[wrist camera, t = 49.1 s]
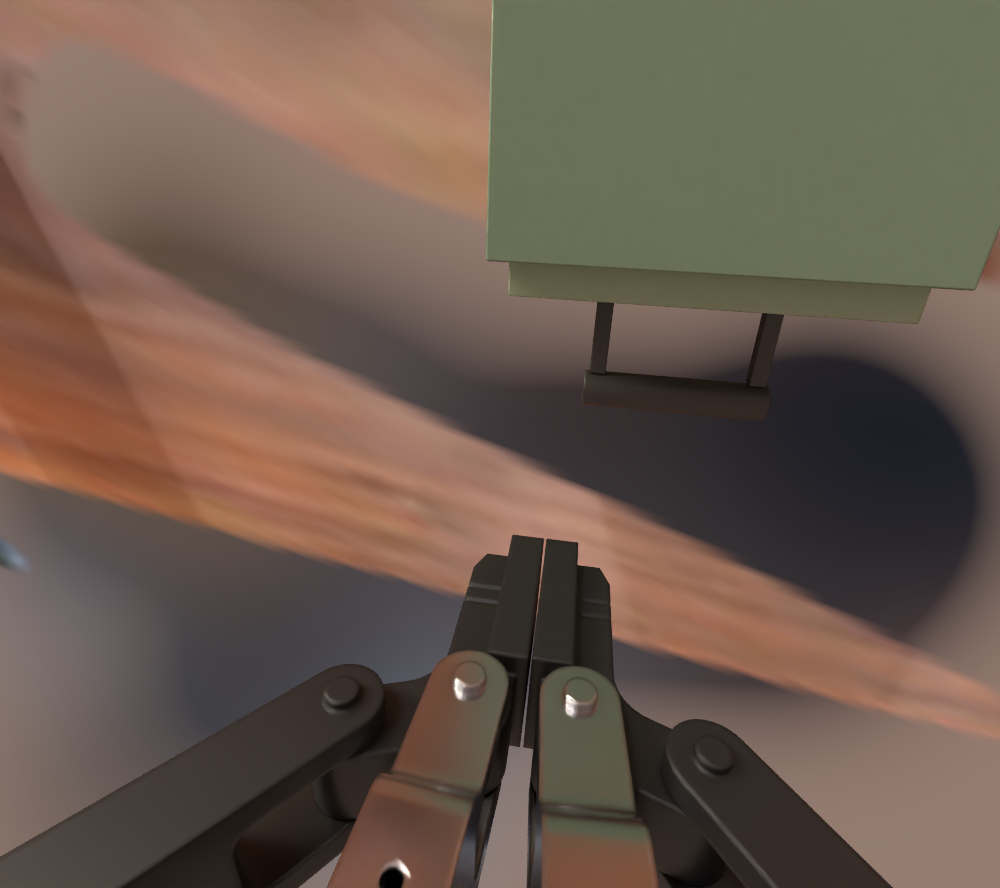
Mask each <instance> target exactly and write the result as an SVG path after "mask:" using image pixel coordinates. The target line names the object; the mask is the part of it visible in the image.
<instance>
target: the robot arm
mask: <svg viewBox="0 0 1000 888" xmlns="http://www.w3.org/2000/svg"><path fill="white" fill-rule="evenodd" d="M543 544H544V539H543V538H535V537H527V536H519V535H513V536H512V540H511V544H510V549H509V554H508V556H501V555H493V554H487V555H486V556H485V557H484V558H483V559H482V560H481V561H480V562H479V563H478V564H477V565H476V566H475V567H474V569H473V572H472V576H471V579H470V582H469V587H468V589H467V592H466V596H465V601H464V602H463V606H462V609H461V613H460V616H459V619H458V623H457V626H456V629H455V633H454V636H453V639H452V643H451V647H450V649H449V652H448V655H447V656H446V657H445V658H443V659H442V660H441V661H440V662H438V664H437V665H436V666H435V668H434V669H433V671H432V672H431V673H430V674H428V675H426V676H424V677H421V678H418V679H415V680H410V681H405V682H397V683H389V684H383V683H382V681H381V679H380V677H379V676H378V674H376V673H375V672H374V671H373V670H371V669H370V668H367V667H365V666H362V665H357V664H343V665H339V666H334V667H331V668H329V669H327V670H325V671H323V672H321V673H319V674H317V675H316V676H314V677H312V678H310V679H309V680H307V681H305V682H304V683H302V684H300V685H298V686H296V687H295V688H293V689H291V690H290V691H288V692H286V693H284V694H283V695H281V696H279V697H277V698H276V699H274V700H272V701H270V702H269V703H267V704H265V705H263V706H262V707H260V708H258V709H257V710H255V711H253V712H251V713H250V714H248V715H246V716H245V717H243V718H241V719H239V720H237V721H236V722H234V723H232V724H230V725H229V726H227V727H225V728H224V729H222V730H220V731H218V732H216V733H215V734H213V735H211V736H210V737H208V738H206V739H204V740H203V741H201V742H199V743H197V744H196V745H194V746H192V747H190V748H189V749H187V750H185V751H183V752H182V753H180V754H178V755H176V756H175V757H173V758H171V759H170V760H168V761H166V762H164V763H163V764H161V765H159V766H157V767H156V768H154V769H152V770H150V771H149V772H147V773H145V774H143V775H142V776H140V777H138V778H137V779H135V780H133V781H131V782H130V783H128V784H126V785H124V786H123V787H121V788H119V789H117V790H116V791H114V792H112V793H111V794H109V795H107V796H105V797H103V798H102V799H100V800H98V801H97V802H95V803H93V804H92V805H90V806H88V807H86V808H84V809H83V810H81V811H79V812H77V813H76V814H74V815H72V816H71V817H69V818H67V819H65V820H63V821H62V822H60V823H58V824H57V825H55V826H53V827H51V828H50V829H48V830H46V831H44V832H43V833H41V834H39V835H37V836H36V837H34V838H32V839H30V840H29V841H27V842H25V843H24V844H22V845H20V846H18V847H16V848H15V849H13V850H11V851H10V852H8V853H6V854H4V855H3V856H1V857H0V888H298V887H299V886H301V885H302V884H303V883H305V882H306V881H307V880H308V879H309V878H311V877H312V876H313V875H314V874H316V873H317V872H318V871H319V870H320V869H322V868H323V867H324V866H325V865H327V864H328V863H329V862H330V861H331V860H333V859H334V858H335V857H336V856H338V855H339V854H340V853H341V852H342V854H341V856H340V858H339V861H338V863H337V865H336V867H335V870H334V872H333V874H332V876H331V879H330V881H329V883H328V886H327V888H478V885H479V880H480V876H481V871H482V867H483V863H484V858H485V853H486V849H487V845H488V841H489V836H490V832H491V827H492V823H493V818H494V814H495V809H496V805H497V800H498V796H499V791H500V787H501V780H502V778H503V776H504V773H505V769H506V763H507V756H508V748H509V745H511V746H517V747H520V741H521V733H522V725H523V717H524V709H525V701H526V692H527V685H528V677H529V669H530V661H531V653H532V645H533V637H534V628H535V621H536V612H537V604H538V594H539V584H540V574H541V564H542V554H543ZM577 562H578V543H576V542H568V541H560V540H552V539H547V540H546V548H545V557H544V565H543V573H542V581H541V589H540V598H539V606H538V614H537V623H536V630H535V639H534V647H533V655H532V664H531V675H530V685H529V695H528V705H527V716H526V725H525V735H524V745H523V747H525V748H531V749H533V758H532V768H531V769H532V770H531V778H530V788H529V807H528V808H529V809H528V848H527V888H893V887H891V886H890V885H889V884H888V883H887V882H886V881H885V880H884V879H883V878H882V877H881V876H880V875H879V874H878V873H877V872H876V871H875V870H874V869H873V868H872V867H871V866H870V865H869V864H868V863H867V862H866V861H865V860H864V859H863V858H862V857H861V856H860V855H859V854H858V853H857V852H856V851H855V850H854V849H853V848H852V847H850V845H849V844H848V843H847V842H846V841H845V840H844V839H842V838H841V837H840V836H839V835H838V834H837V833H836V832H835V831H834V830H833V829H832V828H831V827H830V826H829V825H828V824H827V823H826V822H825V821H824V820H823V819H822V818H821V817H820V816H819V815H818V814H817V813H816V812H815V811H814V810H813V809H812V808H811V807H810V806H809V805H808V804H807V803H806V802H805V801H804V800H803V799H802V798H801V797H800V796H799V795H798V794H797V793H795V791H794V790H793V789H791V787H789V786H788V785H787V784H786V783H785V782H784V781H783V780H782V779H781V778H780V777H779V776H778V775H777V774H776V773H775V772H774V771H773V770H772V769H771V768H770V767H769V766H768V765H767V764H766V763H765V762H764V761H763V760H762V759H761V758H760V757H759V756H758V755H757V754H756V753H755V752H754V751H753V750H752V749H751V748H750V747H749V746H748V745H747V744H745V742H744V741H742V740H741V739H740V738H739V737H738V736H737V735H736V734H734V733H733V732H732V731H730V730H728V729H727V728H725V727H723V726H722V725H719V724H717V723H714V722H711V721H707V720H700V719H692V720H687V721H683V722H681V723H679V724H678V725H676V726H675V727H674V728H673V729H670V728H668V727H666V726H664V725H662V724H660V723H657V722H655V721H653V720H651V719H649V718H647V717H645V716H643V715H641V714H640V713H638V712H637V711H635V710H634V709H633V708H632V707H631V706H630V705H628V703H627V702H626V701H625V700H624V699H623V697H622V696H621V695H620V693H619V691H618V689H617V687H616V684H615V681H614V671H613V650H612V627H611V606H610V585H609V583H608V581H607V580H606V578H605V576H604V575H603V573H602V571H601V570H600V568H595V567H587V566H579V565H577Z"/></svg>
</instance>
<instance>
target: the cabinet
mask: <svg viewBox="0 0 1000 888" xmlns="http://www.w3.org/2000/svg"><path fill="white" fill-rule="evenodd" d="M999 229H1000V0H492V29H491V71H490V114H489V156H488V198H487V241H486V260H487V261H497V262H513V263H529V264H546V265H562V266H579V267H595V268H611V269H628V270H644V271H661V272H677V273H694V274H710V275H726V276H743V277H759V278H776V279H792V280H808V281H825V282H841V283H858V284H874V285H891V286H907V287H923V288H940V289H956V290H975V289H976V287H977V284H978V282H979V279H980V277H981V274H982V272H983V269H984V267H985V264H986V262H987V259H988V257H989V254H990V252H991V249H992V247H993V244H994V242H995V239H996V237H997V234H998V232H999Z"/></svg>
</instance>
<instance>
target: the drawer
mask: <svg viewBox="0 0 1000 888" xmlns="http://www.w3.org/2000/svg"><path fill="white" fill-rule="evenodd" d="M930 291H931V288H923V287H907V286H891V285H874V284H858V283H841V282H825V281H808V280H792V279H776V278H759V277H743V276H726V275H710V274H694V273H677V272H661V271H644V270H628V269H611V268H595V267H579V266H562V265H546V264H529V263H513V262H509V286H508V294H509V296H521V297H535V298H536V297H537V298H549V299H565V300H579V301H593V302H594V301H595V302H597V311H596V320H595V329H594V338H593V347H592V356H591V365H590V370H585V373H584V382H583V392H582V402H581V403H582V404H583V405H595V406H605V407H616V408H627V409H637V410H649V411H660V412H670V413H680V414H691V415H702V416H713V417H723V418H735V419H746V420H757V421H761V420H764V419H765V417H766V415H767V413H768V410H769V406H770V390H769V387H768V386H767V385H766V383H767V379H768V375H769V371H770V367H771V363H772V359H773V356H774V351H775V348H776V344H777V340H778V336H779V332H780V328H781V324H782V321H783V317H784V315H797V316H811V317H826V318H840V319H855V320H870V321H884V322H899V323H913V324H917V323H919V321H920V318H921V315H922V313H923V310H924V307H925V304H926V301H927V299H928V296H929V294H930ZM614 303H623V304H637V305H651V306H666V307H680V308H695V309H709V310H724V311H738V312H753V313H762V317H761V321H760V325H759V329H758V334H757V337H756V342H755V346H754V350H753V354H752V358H751V362H750V367H749V371H748V375H747V379H746V382H747V383H736V382H724V381H713V380H700V379H689V378H678V377H666V376H653V375H642V374H630V373H619V372H606V363H607V355H608V346H609V339H610V331H611V323H612V315H613V307H614Z"/></svg>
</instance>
